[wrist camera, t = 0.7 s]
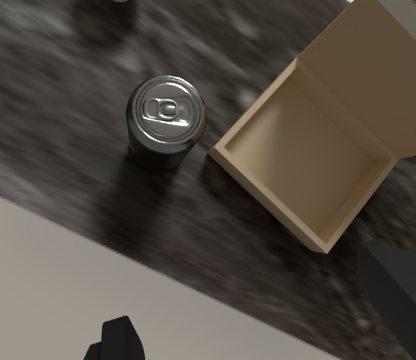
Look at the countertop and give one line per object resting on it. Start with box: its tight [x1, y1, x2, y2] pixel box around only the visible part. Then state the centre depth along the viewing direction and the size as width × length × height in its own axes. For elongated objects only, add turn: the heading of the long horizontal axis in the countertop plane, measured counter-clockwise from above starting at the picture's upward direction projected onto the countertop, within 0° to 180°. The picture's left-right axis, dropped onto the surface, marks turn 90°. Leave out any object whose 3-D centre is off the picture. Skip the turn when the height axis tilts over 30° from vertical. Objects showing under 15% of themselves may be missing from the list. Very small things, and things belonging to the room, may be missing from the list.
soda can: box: [126, 75, 207, 174], centre depth 27 cm, size 5×5×12 cm
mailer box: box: [207, 0, 416, 254], centre depth 28 cm, size 14×13×15 cm
